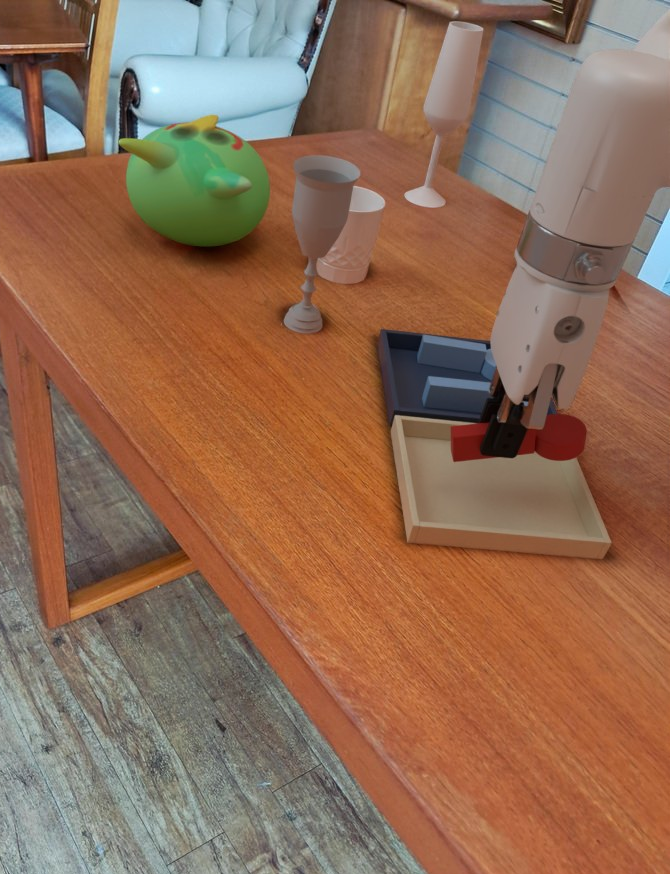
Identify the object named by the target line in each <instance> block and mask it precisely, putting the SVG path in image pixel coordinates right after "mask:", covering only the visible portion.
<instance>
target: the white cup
mask: <svg viewBox="0 0 670 874" xmlns="http://www.w3.org/2000/svg"><path fill="white" fill-rule="evenodd" d="M386 204H387V203H386V200H385V199H384V197H383V196H381V194H379V193H377V192H376V191H374V190H372V189H369V188H365V187H363V186H358V185H354V186H353V191H352V197H351V202H350V208H349V214H348V219H347V222H346V224H345V226H344V228H343V230H342V232H341V233H340V235H339V237H338V239H337V240H336V242H335V243H334V245H333V246H332V247H331V249H330V250H329V252H328V253H327V255H326V256H324V257H322V258H318V260H317V262H316V269H317V272H318V275H317V276H320V277H321V278H322V279H324V280H326V281H329V282H331V283H334V284H335V283H336V284H341V285H349V284H350V285H355V284H358V283H360V282H364V280H365V279H366V277H367V275H368V271H369V267H370V262H371V261H372V258H373V253H374V251H375V247H376V243H377V240H378V236H379V232H380V228H381V223H382V219H383V215H384V212H385V209H386Z"/></svg>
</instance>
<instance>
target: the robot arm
mask: <svg viewBox="0 0 670 874" xmlns="http://www.w3.org/2000/svg"><path fill="white" fill-rule="evenodd" d="M644 33H645V34H643V36H642V37H641V38H640V39H639V40H638V41H637V43H636V44H635V45H634V46H633V48H632V49H631V50H630V49H622V48H609V49H601V50H598V51H595V52H594V53H592V54H590V55H589V56H588V57H586V58H585V60H584V61H583V62H582V63H581V64H580V66H579V67H578V70H577V71H576V75H575V77H574V78H573V82H572V84H571V87H570V90H569V93H568V96H567V98H566V101H565V104H564V107H563V110H562V113H561V115H560V119H559V122H558V125H557V128H556V131H555V134H554V136H553V139H552V142H551V145H550V148H549V151H548V154H547V156H546V160H545V163H544V166H543V169H542V172H541V175H540V178H539V180H538V184H537V187H536V188H535V189H536V190H535V192H534V196H533V199H532V202H531V205H530V207H529V210H528V213H527V216H526V219H525V220H524V221H525V222H524V224H523V227H522V230H521V233H520V236H519V240H518V242H517V245H516V248H515V250H514V255H513V257H514V260H515V261H516V266H515V267H514V270H513V272H512V275H511V277H510V280H509V281H508V284H507V287H506V289H505V291H504V294H503V297H502V300H501V302H500V305H499V308H498V310H497V313H496V316H495V320H494V323H493V326H492V329H491V333H490V340H489V341H490V344H491V350H492V354H493V357H494V360H495V363H496V370H495V372H494V375H493V378H492V381H491V384H490V387H489V396H490V397H493V398H487V400H486V402H485V405H484V408H483V411H482V413H481V416H480V419H479V422H478V423H488V422H489V425H488V427H487V430H486V433H485V435H484V438H483V441H482V443H481V446H480V452H481V454H482V455H484V456H493V457H503V458H515V457H516V456H517V454H518V451H519V449H520V447H521V444H522V442H523V439H524V437H525V435H526V432H527V430H528V428H530V429H539V430H542V429H543V427H544V424H545V420H546V416H547V412H548V408H549V404H550V400H551V398H552V400H553V402H554V404H555V407H556V409H558V410H561V411H567V410H568V409H569V408H570V407H571V406H572V405H573V403H574V400H575V398H576V396H577V393H578V391H579V389H580V386H581V385H582V382H583V378H584V377H585V374H586V371H587V369H588V366H589V364H590V361H591V358H592V355H593V353H594V349H595V347H596V345H597V341H598V338H599V336H600V333H601V330H602V327H603V323H604V322H603V321H604V319H605V315H606V312H607V307H608V303H609V299H610V291H609V290H610V289H611V288H612V287H614V286H615V285H616V283H617V280H618V279H619V276H620V273H621V271H622V269H623V267H624V265H625V262H626V260H627V258H628V255H629V254H630V251H631V248H632V247H633V245H634V242H635V240H636V237H637V235H638V233H639V230H640V229H641V226H642V224H643V221H644V219H645V217H646V215H647V213H648V211H649V208H650V206H651V204H652V201H653V199H654V197H655V195H656V193H657V192H658V190H660V189H662V188H670V8H668V10H666V11H665V12H664V13H663V15H662V16H660V18H659V19H657V21H656V22H654V24H653V25H652V26H651V27H650V28H649V29H648V30H647V31H646V32H644ZM523 401H524V402H528V405H527V406H524V402H523Z"/></svg>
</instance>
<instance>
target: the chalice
mask: <svg viewBox="0 0 670 874" xmlns="http://www.w3.org/2000/svg"><path fill="white" fill-rule="evenodd" d="M292 167H293V171H294V173H295V183H294V185H295V186H294V191H293V200H292V207H291V215H292V222H293V225H294V232H295V236H296V239H297V241H298V242H297V243H298V245H299V247H300V251H301V253H302V254H303V255H304V256H306V257H308V258H307V259H308V263H307V266H306V268H305V269H304V270H303V274H304V275H305V281H304V283H303V284H301V286H300V290H302V293H303V295H302V296H303V297H302V299H301V301H299V302H296V303H294V304H293V305H291V306H290V307H289V309H288V311H287V312H286V314H285V315H284V318H283V322H281V323H280V326H281V327H282V325H283V324H284V325H285V326H286V328H288V329H289V330H291V331H293V332H296V333H300V334H315V333H317V332H319V331H321V330H322V328H323V326H324V325H323V317H322V316H321V315H322V314H321V311H320V310H319V308H318V307H317V306H316V305H314V304H313V303H312V296H313V293H315V292H316V291H317V287H316V286H315V283H314V281H315V279H316V277H317V276H319V275H318V272H317V269H316V262H317V260H318V258H322V257H324V256H326V255H327V253H328V252H329V250H330V249H331V247H332V246H333V245H334V243H335V242H336V240H337V239H338V237H339V235H340V233H341V232H342V230H343V228H344V226H345V224H346V222H347V219H348V214H349V208H350V202H351V197H352V191H353V186H355V184H356V182H357V181H358V180H359V178H360V177H361V170H360V169H359V167H358V166H356V165H355V163H352V162H350V161H348V160H345V159H343V158H339V157H335V156H331V155H323V154H322V155H321V154H313V155H312V154H311V155H305V156H304V155H303V156H300V157H299V158H296V159H295V160H294V161H293V163H292ZM282 323H283V324H282Z"/></svg>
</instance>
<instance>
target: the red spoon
mask: <svg viewBox="0 0 670 874" xmlns="http://www.w3.org/2000/svg"><path fill="white" fill-rule="evenodd" d="M488 425H489V422H488V423H477V424H468V425H459V426H451V454H452V458H453V462H460V461H469V460H478V459H487V458H496V457H493V456H484V455H482V454H481V452H480V446H481V443H482V441H483V438H484V435H485V433H486V430H487V427H488ZM586 426H587V425H586V424H585V423H584V422H583V421H582V420H581V419H580V418H578V417H576V416H573V415H570V414H567V413H558V414H551V415H547V416H546V420H545V424H544V427H543V429H542V430H539V429H530V428H528V430H527V432H526V435H525V437H524V439H523V442H522V444H521V447H520V449H519V451H518V454H517V455H524V454H533V453H534V452H536V453H537V454H538V455H540V456H541V457H543V458H546V459H549V460H554V461H566V460H571V459H574V458H578V457H579V456H580V455H582V454H583V452H584V451H585V447H586V441H587V433H588V429H587V427H586Z"/></svg>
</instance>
